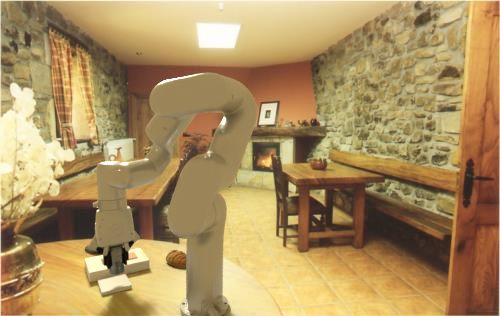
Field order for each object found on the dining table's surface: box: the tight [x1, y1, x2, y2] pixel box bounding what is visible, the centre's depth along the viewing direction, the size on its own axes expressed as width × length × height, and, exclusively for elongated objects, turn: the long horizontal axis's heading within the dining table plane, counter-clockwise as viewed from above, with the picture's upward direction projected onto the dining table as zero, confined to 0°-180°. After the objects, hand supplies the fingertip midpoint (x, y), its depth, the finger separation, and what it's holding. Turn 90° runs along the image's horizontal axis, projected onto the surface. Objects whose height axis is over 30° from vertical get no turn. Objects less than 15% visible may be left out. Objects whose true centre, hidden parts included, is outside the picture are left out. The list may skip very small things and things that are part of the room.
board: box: [84, 247, 150, 283], centre depth 106 cm, size 12×18×3 cm, turn 123°
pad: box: [97, 274, 133, 297], centre depth 94 cm, size 8×8×1 cm
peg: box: [108, 243, 124, 275], centre depth 93 cm, size 4×4×8 cm
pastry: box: [165, 249, 186, 269], centre depth 110 cm, size 9×7×4 cm
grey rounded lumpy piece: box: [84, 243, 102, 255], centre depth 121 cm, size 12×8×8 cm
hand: (116, 264), depth 93 cm, fingers closed on peg, 4 cm apart
